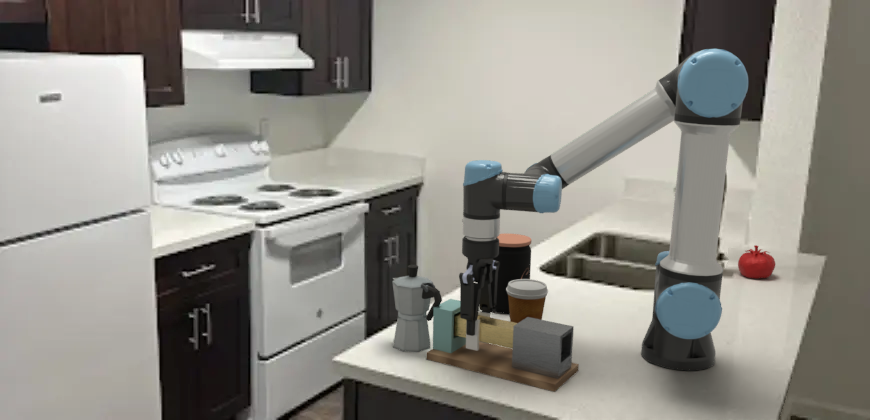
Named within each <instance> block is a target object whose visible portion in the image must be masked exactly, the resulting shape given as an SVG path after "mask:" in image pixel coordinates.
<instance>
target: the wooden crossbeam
mask: <svg viewBox="0 0 870 420" xmlns="http://www.w3.org/2000/svg"><path fill="white" fill-rule="evenodd" d="M477 319H479V320H480V330H479V341H482V342H486V343H489V344H493V345H498V346H502V347H506V348H511V349H513V327H514V325H516V324H517V323H514V322H510V320H504V319H500V318H494V317H491V316H490V317H486V316H481V315H478V318H477ZM453 335H454V336H455V335H456V336H460V337H464V338H466V319H462V318H461V317H460V313H458V314H457V315H455V316H454V332H453Z"/></svg>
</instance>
